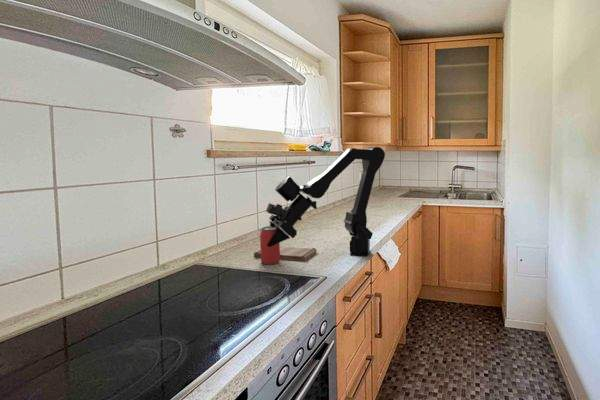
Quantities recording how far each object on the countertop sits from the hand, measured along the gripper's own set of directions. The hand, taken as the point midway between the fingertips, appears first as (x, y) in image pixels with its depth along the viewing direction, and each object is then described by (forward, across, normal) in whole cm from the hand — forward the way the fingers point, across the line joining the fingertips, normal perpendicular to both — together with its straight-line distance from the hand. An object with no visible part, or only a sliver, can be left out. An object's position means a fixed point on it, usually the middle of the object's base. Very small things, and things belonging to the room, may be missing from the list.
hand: (266, 243), depth 144 cm
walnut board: (-2, -8, +11) cm, 14 cm away
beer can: (+4, 0, +6) cm, 7 cm away
